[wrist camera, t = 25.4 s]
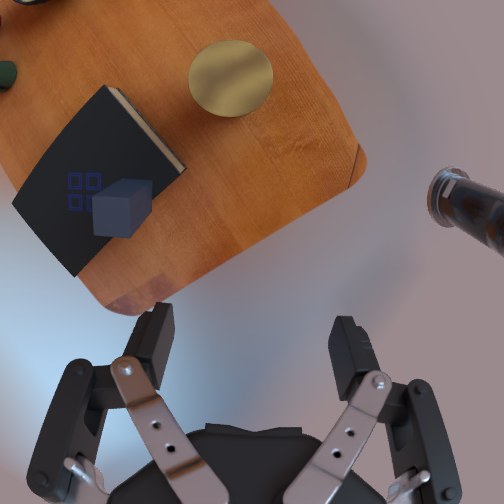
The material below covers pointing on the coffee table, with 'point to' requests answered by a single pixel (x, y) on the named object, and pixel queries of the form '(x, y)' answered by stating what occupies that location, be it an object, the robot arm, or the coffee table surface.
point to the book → (91, 174)
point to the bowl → (31, 2)
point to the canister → (230, 78)
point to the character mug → (7, 74)
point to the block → (122, 207)
